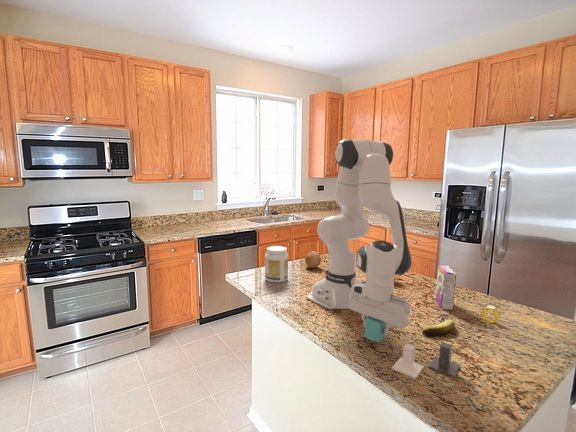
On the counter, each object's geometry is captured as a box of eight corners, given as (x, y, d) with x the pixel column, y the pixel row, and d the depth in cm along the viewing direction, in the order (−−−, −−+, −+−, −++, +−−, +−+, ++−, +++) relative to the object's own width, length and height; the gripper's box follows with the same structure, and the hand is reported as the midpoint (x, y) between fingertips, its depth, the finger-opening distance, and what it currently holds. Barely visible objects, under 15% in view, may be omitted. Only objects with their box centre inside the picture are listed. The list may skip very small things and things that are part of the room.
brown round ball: (316, 271, 186) (316, 254, 184) (301, 268, 191) (301, 251, 190) (323, 267, 194) (324, 251, 192) (309, 264, 199) (309, 248, 198)
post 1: (391, 368, 95) (393, 346, 94) (400, 358, 101) (402, 337, 100) (415, 379, 91) (417, 356, 90) (423, 367, 96) (425, 346, 95)
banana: (447, 364, 99) (448, 352, 99) (378, 327, 122) (379, 317, 121) (501, 334, 118) (502, 324, 118) (433, 307, 141) (434, 299, 140)
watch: (498, 324, 125) (501, 310, 124) (493, 325, 125) (495, 311, 123) (485, 316, 131) (487, 303, 130) (479, 317, 130) (482, 304, 129)
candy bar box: (434, 299, 148) (437, 264, 146) (446, 300, 147) (449, 265, 145) (440, 309, 137) (444, 272, 135) (453, 310, 136) (457, 273, 134)
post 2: (428, 367, 96) (430, 345, 95) (435, 357, 102) (437, 336, 101) (453, 377, 92) (456, 354, 91) (459, 366, 97) (462, 344, 96)
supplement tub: (280, 274, 179) (281, 244, 177) (292, 280, 169) (293, 249, 167) (261, 277, 173) (261, 246, 170) (271, 284, 163) (272, 252, 160)
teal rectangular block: (364, 336, 108) (365, 318, 107) (371, 330, 112) (373, 313, 111) (378, 342, 105) (380, 323, 103) (385, 336, 108) (387, 318, 107)
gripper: (414, 298, 101) (410, 338, 103) (356, 280, 114) (354, 316, 117) (406, 304, 96) (401, 346, 99) (347, 284, 110) (344, 322, 112)
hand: (375, 330), depth 108 cm, fingers closed on teal rectangular block, 5 cm apart
